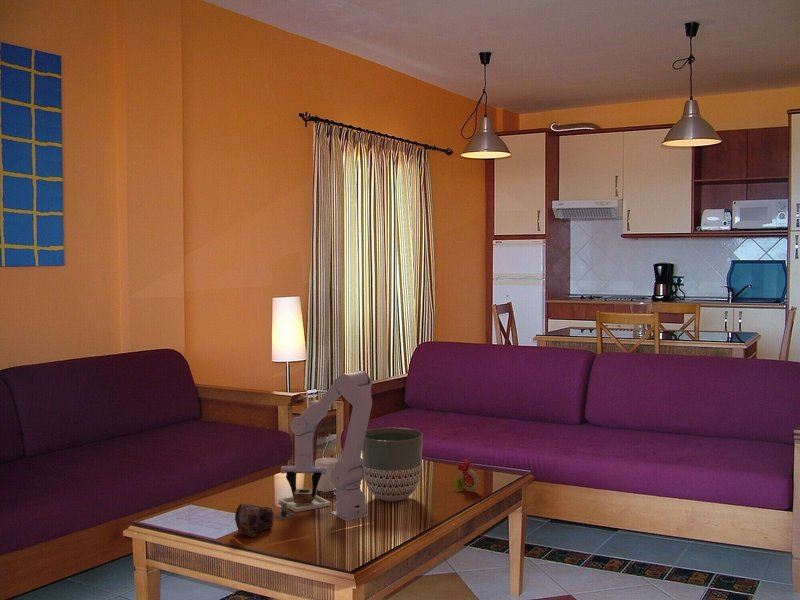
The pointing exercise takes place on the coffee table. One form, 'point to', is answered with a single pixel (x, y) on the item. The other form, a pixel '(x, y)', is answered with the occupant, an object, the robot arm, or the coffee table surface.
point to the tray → (299, 507)
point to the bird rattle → (467, 482)
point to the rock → (253, 519)
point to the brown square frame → (303, 496)
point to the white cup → (325, 479)
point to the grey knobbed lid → (283, 513)
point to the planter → (392, 462)
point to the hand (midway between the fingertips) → (304, 495)
